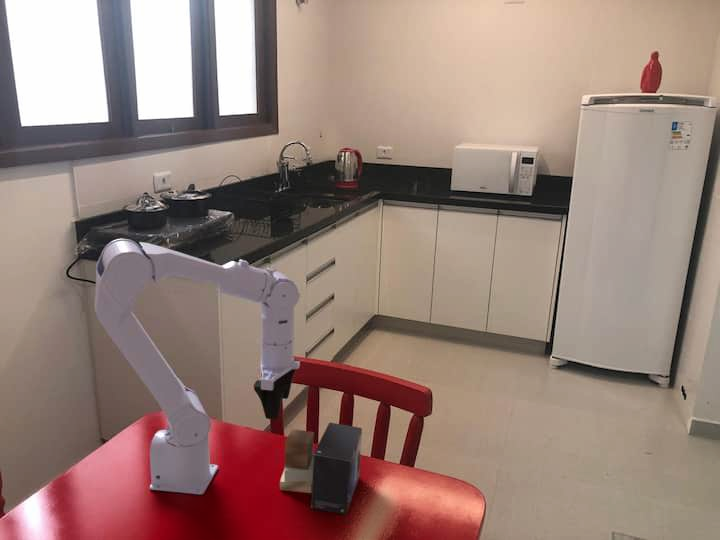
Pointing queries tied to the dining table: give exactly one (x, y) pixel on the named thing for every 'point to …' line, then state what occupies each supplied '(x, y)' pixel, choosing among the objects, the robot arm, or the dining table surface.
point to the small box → (336, 468)
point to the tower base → (295, 485)
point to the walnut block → (299, 449)
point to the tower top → (299, 474)
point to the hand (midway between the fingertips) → (277, 407)
